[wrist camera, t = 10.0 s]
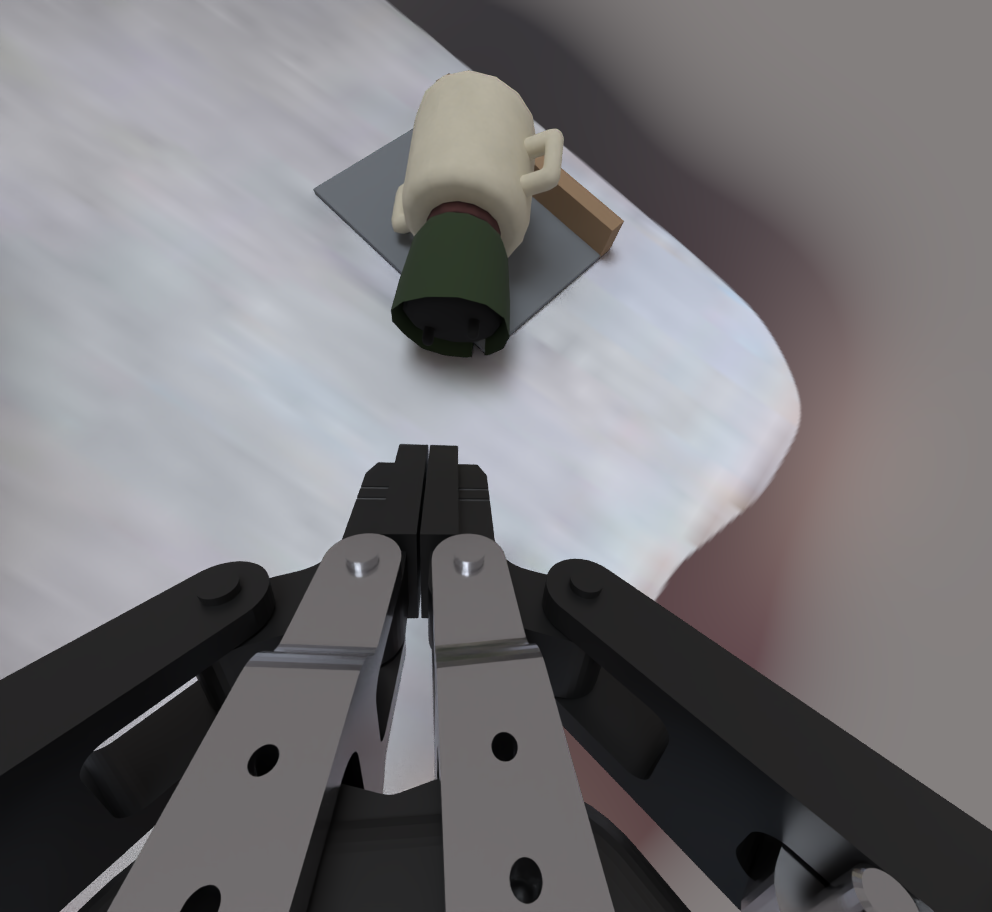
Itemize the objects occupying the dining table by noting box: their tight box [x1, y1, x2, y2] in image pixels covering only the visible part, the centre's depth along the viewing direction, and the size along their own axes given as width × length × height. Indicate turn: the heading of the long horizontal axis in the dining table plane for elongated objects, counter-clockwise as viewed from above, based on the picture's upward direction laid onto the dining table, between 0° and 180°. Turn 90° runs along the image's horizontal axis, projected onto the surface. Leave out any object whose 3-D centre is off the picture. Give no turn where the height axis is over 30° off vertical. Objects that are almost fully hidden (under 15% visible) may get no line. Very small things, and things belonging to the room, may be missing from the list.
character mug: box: [391, 70, 564, 357], centre depth 23 cm, size 11×7×13 cm
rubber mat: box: [314, 74, 624, 353], centre depth 26 cm, size 12×16×2 cm
